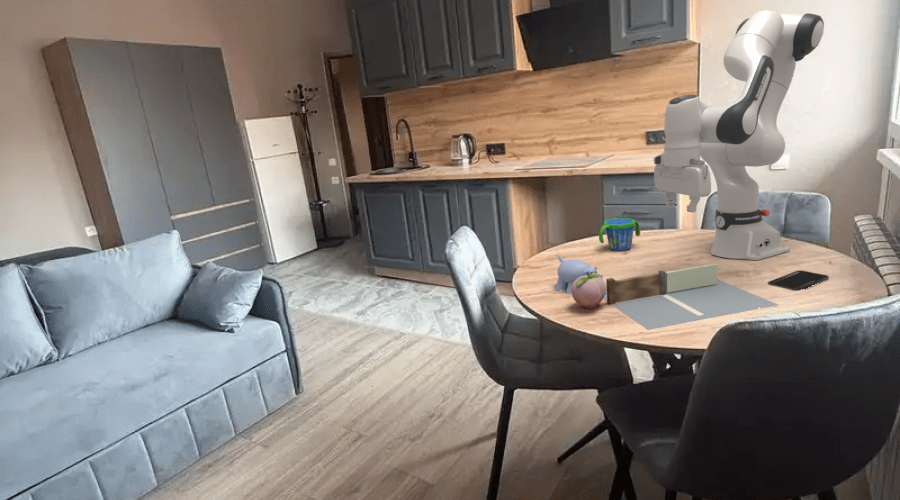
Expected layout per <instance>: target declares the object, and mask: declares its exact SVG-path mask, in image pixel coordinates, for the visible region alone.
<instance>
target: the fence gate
mask: <svg viewBox="0 0 900 500" xmlns="http://www.w3.org/2000/svg"><path fill="white" fill-rule="evenodd" d="M718 266H719V265H718V264H717V263H715V262H713V263H710V264H704V265H702V264H701V265H697V266H692V267H686V268H681V269H674V270H670V271H665V292H667V293H669V292H675V291H680V290H686V289H691V288H697V287H702V286H708V285H714V284H717V279H718V270H719V269H718Z"/></svg>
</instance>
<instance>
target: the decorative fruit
mask: <svg viewBox="0 0 900 500" xmlns="http://www.w3.org/2000/svg"><path fill="white" fill-rule="evenodd" d="M601 275H602V274H600V275H599V273H598V272H597V273H592V274H589V273H587V275H585V276H581V277H579V278H577V279H576V280H575V281H574V282H573V284H572V286H571V293H572V295H571V296H572V298H573V300H574V302H576V303H577V305H579V306H580V307H582V308H585V309H592V308H594V307H595V308H596V307H597V306H598V305H599V304H601V302H602V301H603V300H604V299H603V298H604V296H605V294H606V292H607V283H606V282H605V281H604V280H603V279H601V278H599V276H600V277H603V275H602V276H601Z"/></svg>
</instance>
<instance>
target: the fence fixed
mask: <svg viewBox="0 0 900 500" xmlns="http://www.w3.org/2000/svg"><path fill="white" fill-rule="evenodd" d="M665 272H666V271H665V270H658V271H657V272H656V273H652V274H650V273H649V274H644V275H640V276H634V277H633V276H632V277H627V278H622V279H615V278H613V277H610V278H606V279H605V280H606V282H605V283H606V287H607V290H606V292H607V301H606V303H607V304H609V305H611V304H615V303H616V302H619V301H624V300H630V299H636V298H641V297H647V296H652V295H658V294H659V295H665Z"/></svg>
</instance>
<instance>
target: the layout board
mask: <svg viewBox="0 0 900 500" xmlns="http://www.w3.org/2000/svg"><path fill="white" fill-rule="evenodd" d="M603 300H604V301H605V302H607V291H606V294H605V296H604V298H603ZM610 305H611V306H612V307H614V308H616V309H617V310H619V311H620V312H621V313H623V314H624V315H626V316H627V317H628V318H630V319H632V320H633V321H634V322H636V323H638V324H639V325H640V326H642V327H643V328H644V329H646V330H648V331H649V330H655V329H659V328H665V327H669V326H675V325H676V326H677V325H680V324H681V325H682V324H685V323H690V322H697V321H703V320H706V319H713V318H717V317H724V316H727V315H732V314H734V315H735V314H738V313H745V312H747V311H754V310H759V309H758V308H759V307H760V309H763V308H764V309H765V308H770V307H775V306H779V304H778V303H776V302H773V301H770V300H768V299H766V298H764V297H761V296H758V294H757V295H756V294H754V293H752V292H749V291H747V290H745V289H742V288H740V287H737V286H736V285H733V284H731V283H727V282H725V281H723V280H721V279H718V278H717V284H714V285H708V286H702V287H697V288H691V289H686V290H680V291H675V292H669V293H667V292H665V295H659V294H658V295H652V296H647V297H641V298H636V299H630V300H624V301H619V302H616V303H615V304H610Z"/></svg>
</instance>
